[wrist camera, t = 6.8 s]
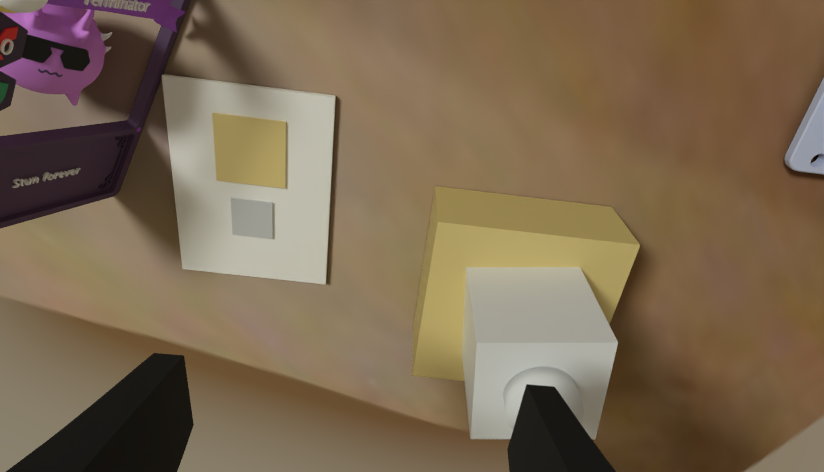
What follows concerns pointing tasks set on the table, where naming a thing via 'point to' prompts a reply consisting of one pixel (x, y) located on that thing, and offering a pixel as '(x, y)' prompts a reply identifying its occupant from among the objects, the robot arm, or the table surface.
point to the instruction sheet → (251, 177)
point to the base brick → (508, 260)
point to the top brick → (532, 345)
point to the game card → (68, 74)
